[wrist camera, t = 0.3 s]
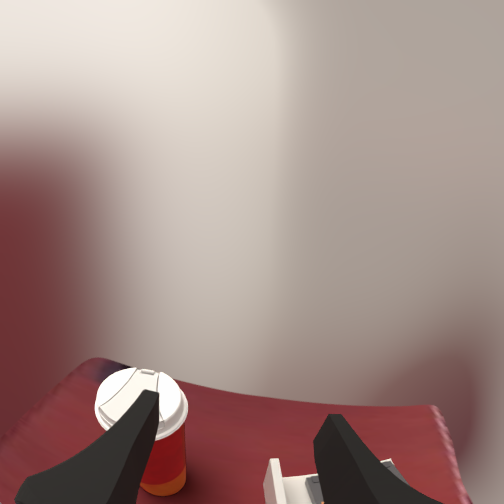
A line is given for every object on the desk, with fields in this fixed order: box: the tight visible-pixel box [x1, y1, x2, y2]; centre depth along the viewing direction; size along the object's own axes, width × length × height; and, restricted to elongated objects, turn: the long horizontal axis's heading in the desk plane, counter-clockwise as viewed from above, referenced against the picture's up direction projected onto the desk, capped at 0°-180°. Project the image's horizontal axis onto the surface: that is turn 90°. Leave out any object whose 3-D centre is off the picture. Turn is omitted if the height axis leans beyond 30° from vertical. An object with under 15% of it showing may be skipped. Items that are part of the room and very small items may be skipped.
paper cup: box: [95, 368, 188, 496], centre depth 22 cm, size 8×8×14 cm
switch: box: [305, 461, 410, 504], centre depth 21 cm, size 5×10×1 cm, turn 95°
